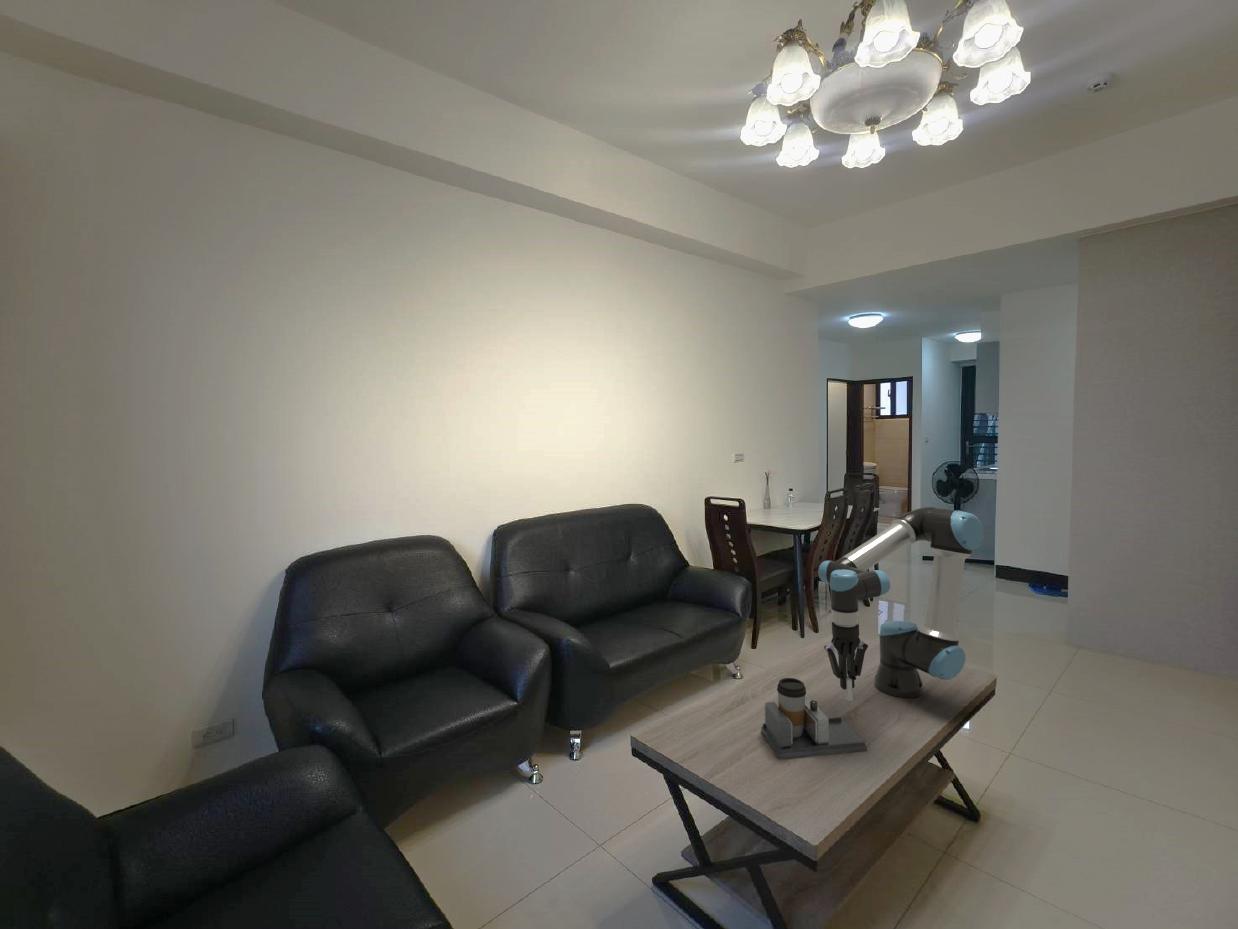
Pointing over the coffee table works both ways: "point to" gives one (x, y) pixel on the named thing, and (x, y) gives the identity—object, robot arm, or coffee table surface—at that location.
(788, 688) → the coffee cup
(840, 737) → the base
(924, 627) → the robot arm
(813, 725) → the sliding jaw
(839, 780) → the coffee table surface
